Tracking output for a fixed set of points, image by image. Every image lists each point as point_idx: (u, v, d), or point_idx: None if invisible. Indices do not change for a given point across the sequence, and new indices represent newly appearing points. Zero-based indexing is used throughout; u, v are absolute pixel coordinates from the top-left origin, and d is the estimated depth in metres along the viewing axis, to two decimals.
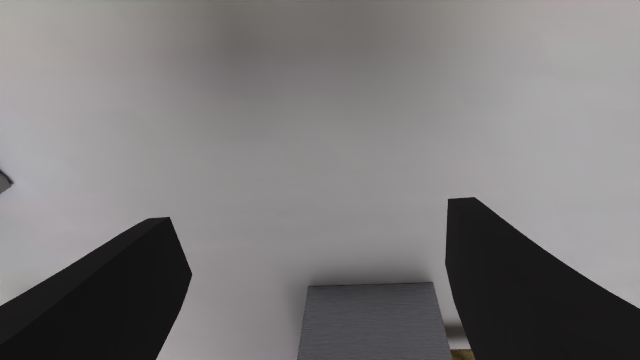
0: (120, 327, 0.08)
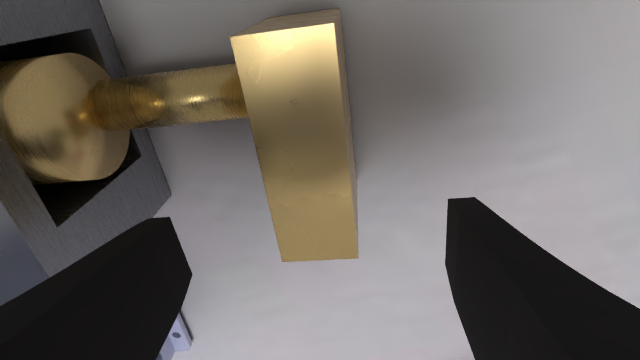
0: (120, 327, 0.08)
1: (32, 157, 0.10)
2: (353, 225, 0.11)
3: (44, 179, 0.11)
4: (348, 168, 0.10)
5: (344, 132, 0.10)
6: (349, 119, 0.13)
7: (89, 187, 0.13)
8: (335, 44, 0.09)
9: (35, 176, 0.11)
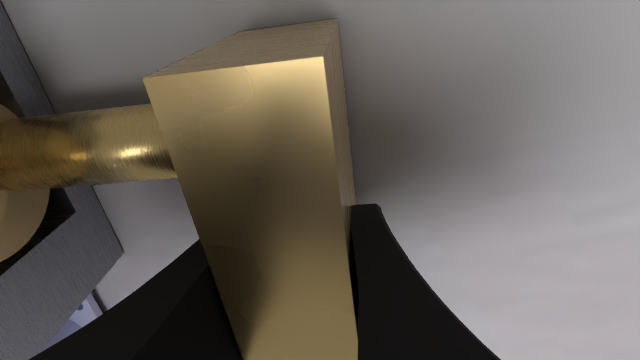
0: (223, 325, 0.07)
1: None
2: (356, 349, 0.07)
3: None
4: (349, 275, 0.07)
5: (342, 227, 0.06)
6: (350, 173, 0.09)
7: None
8: (326, 92, 0.05)
9: None
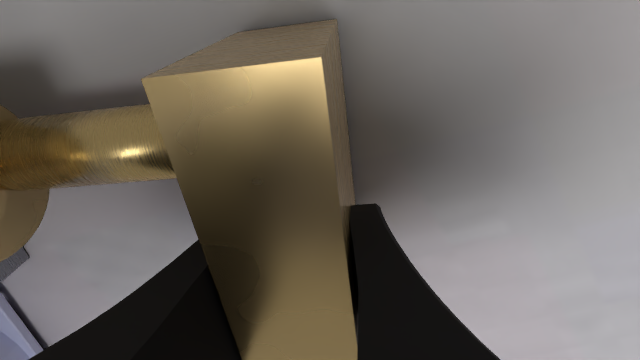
0: (223, 325, 0.07)
1: None
2: (355, 349, 0.07)
3: None
4: (347, 275, 0.07)
5: (341, 227, 0.06)
6: (349, 173, 0.09)
7: None
8: (324, 93, 0.05)
9: None
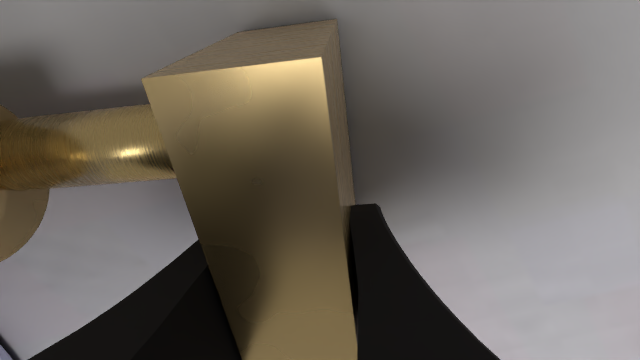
0: (223, 325, 0.07)
1: None
2: (355, 349, 0.07)
3: None
4: (347, 275, 0.07)
5: (341, 227, 0.06)
6: (349, 173, 0.09)
7: None
8: (324, 93, 0.05)
9: None
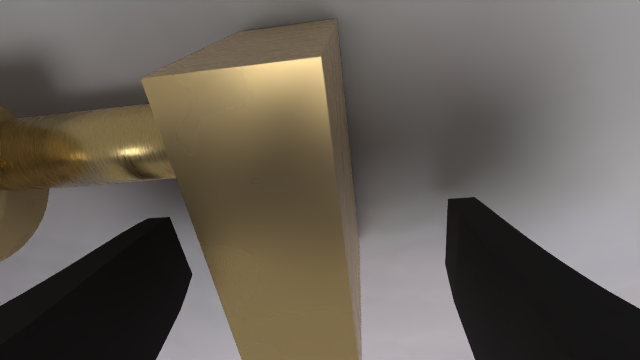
0: (120, 327, 0.08)
1: None
2: (355, 349, 0.07)
3: None
4: (347, 275, 0.07)
5: (340, 227, 0.06)
6: (349, 173, 0.09)
7: None
8: (324, 92, 0.05)
9: None
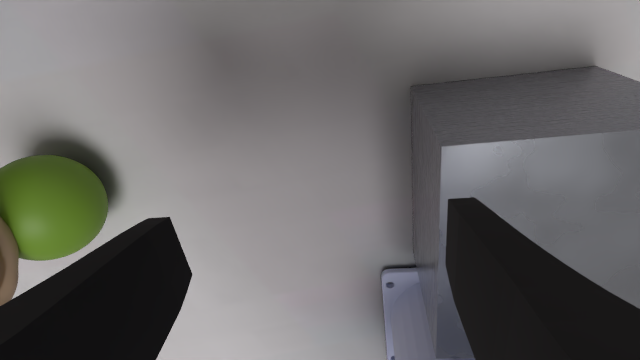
0: (120, 327, 0.08)
1: None
2: None
3: None
4: None
5: None
6: None
7: None
8: None
9: None
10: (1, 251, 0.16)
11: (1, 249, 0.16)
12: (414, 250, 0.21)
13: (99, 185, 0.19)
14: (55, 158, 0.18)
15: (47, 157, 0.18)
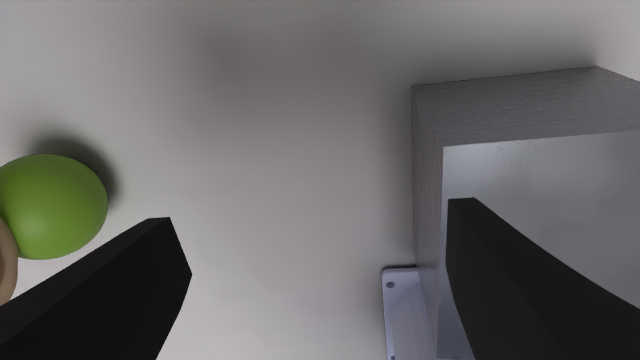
0: (120, 327, 0.08)
1: None
2: None
3: None
4: None
5: None
6: None
7: None
8: None
9: None
10: (0, 251, 0.16)
11: (0, 248, 0.16)
12: (414, 250, 0.21)
13: (99, 184, 0.19)
14: (55, 157, 0.18)
15: (47, 156, 0.18)
